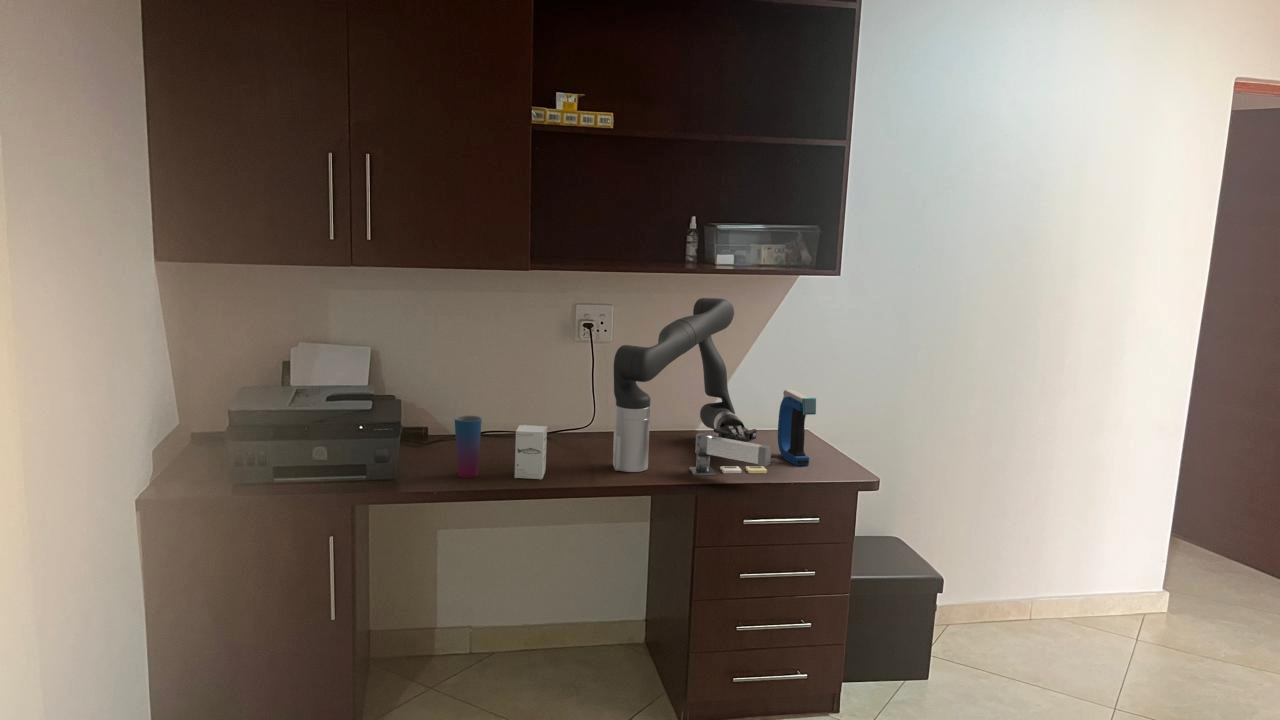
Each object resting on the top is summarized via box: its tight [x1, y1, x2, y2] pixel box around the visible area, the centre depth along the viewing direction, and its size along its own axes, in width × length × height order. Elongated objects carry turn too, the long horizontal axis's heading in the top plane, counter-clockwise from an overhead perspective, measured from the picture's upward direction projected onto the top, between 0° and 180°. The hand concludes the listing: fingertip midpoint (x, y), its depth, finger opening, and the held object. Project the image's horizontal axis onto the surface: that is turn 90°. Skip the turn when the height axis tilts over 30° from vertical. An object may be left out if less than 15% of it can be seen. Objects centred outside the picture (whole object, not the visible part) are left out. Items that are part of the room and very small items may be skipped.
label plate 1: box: [720, 465, 743, 474], centre depth 253 cm, size 5×4×1 cm
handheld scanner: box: [777, 389, 817, 467], centre depth 265 cm, size 5×16×20 cm, turn 15°
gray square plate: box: [689, 453, 717, 476], centre depth 251 cm, size 6×6×5 cm
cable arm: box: [694, 432, 772, 467], centre depth 245 cm, size 21×4×5 cm, turn 57°
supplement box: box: [514, 424, 548, 480], centre depth 241 cm, size 7×7×13 cm
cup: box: [454, 414, 483, 479], centre depth 239 cm, size 7×7×15 cm
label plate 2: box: [745, 465, 768, 474], centre depth 254 cm, size 5×4×1 cm
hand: (741, 441), depth 254 cm, fingers closed
